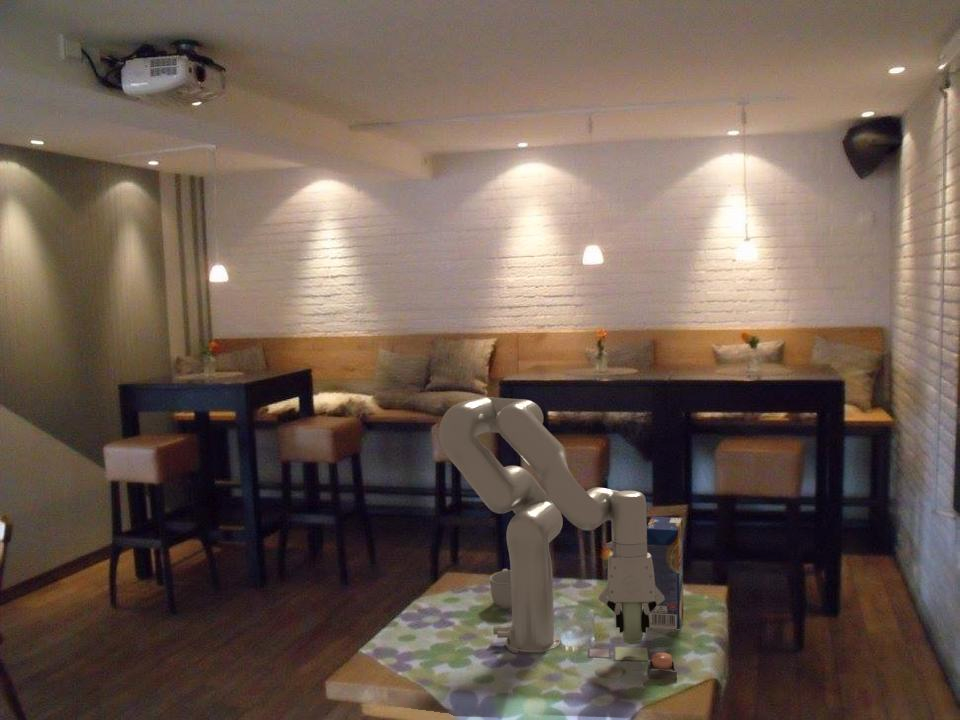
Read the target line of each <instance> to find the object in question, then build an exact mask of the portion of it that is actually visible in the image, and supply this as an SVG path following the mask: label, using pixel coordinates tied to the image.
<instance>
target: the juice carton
mask: <svg viewBox="0 0 960 720" xmlns="http://www.w3.org/2000/svg"><path fill="white" fill-rule="evenodd" d="M683 542H684V541H683V517H665V516H651V518H650V519H649V522H648V524H647V552H648V553H650V555H651V557H652V562H653V568H654V578H655V585H656V586H657V588H658V589H659V590H660V592H661V593H662V594H663V595H664V598H665V600H664V601H663V602H661V603H660V604H658V605H657V606H656V607H655V608H654V609H653V610H652V611H651V612H650V614H649V627H651V629H661V628H668V629H667V630H674V629H681V625H682V622H683V617H684V613H685V612H684V559H683V558H684V555H683V553H684V551H683V547H684V546H683V545H684V544H683ZM655 598H656V595H655Z"/></svg>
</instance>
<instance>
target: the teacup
mask: <svg viewBox="0 0 960 720" xmlns="http://www.w3.org/2000/svg"><path fill="white" fill-rule="evenodd" d="M489 581H490V593H491V598H492V601H493V602H494V603H495V604H496V605H497V606H499V608H502V609H503V610H512V595H511V571H510V569H508V568H503V569H501V571H498V572H494V573H493V574H492V575H490V576H489Z"/></svg>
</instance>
